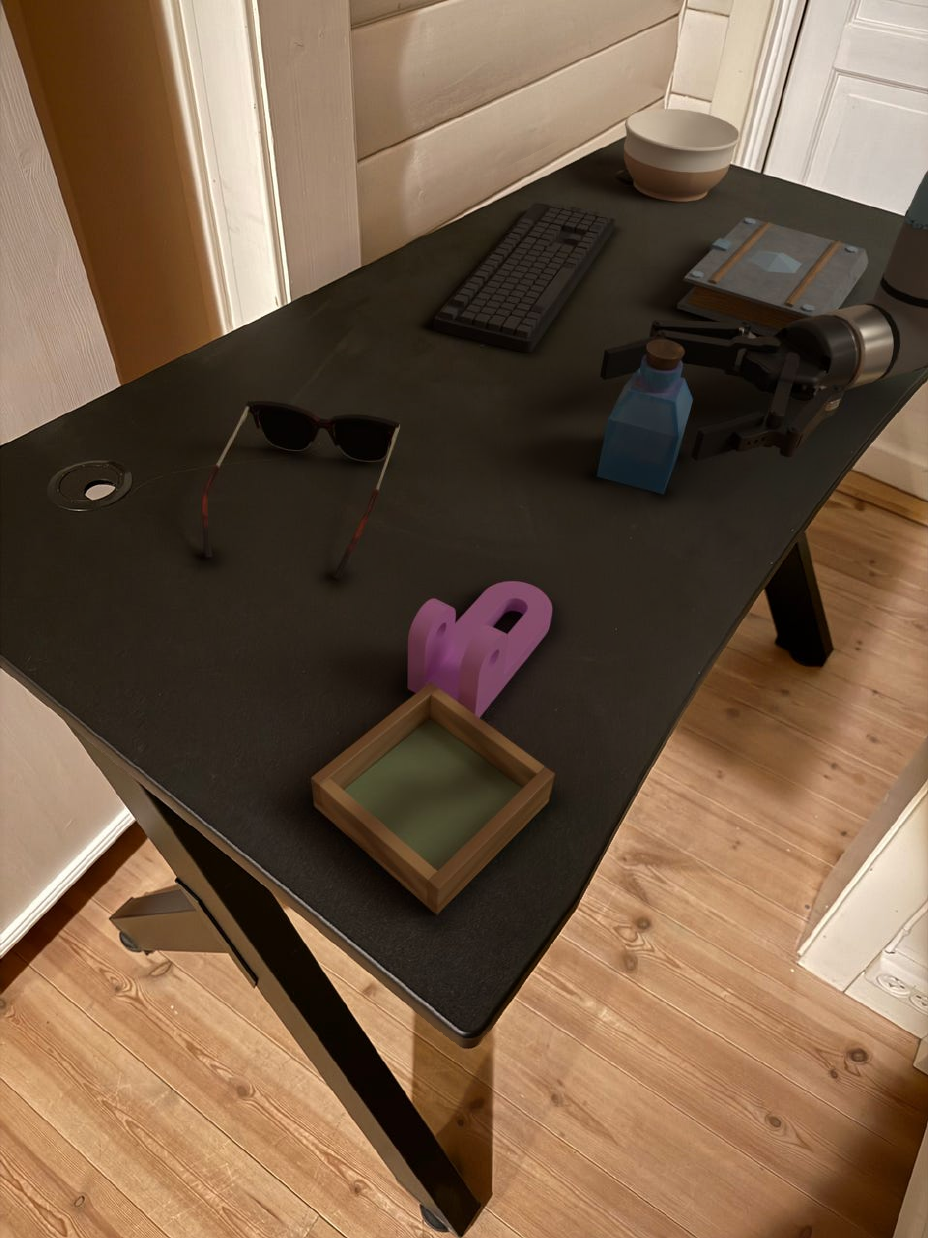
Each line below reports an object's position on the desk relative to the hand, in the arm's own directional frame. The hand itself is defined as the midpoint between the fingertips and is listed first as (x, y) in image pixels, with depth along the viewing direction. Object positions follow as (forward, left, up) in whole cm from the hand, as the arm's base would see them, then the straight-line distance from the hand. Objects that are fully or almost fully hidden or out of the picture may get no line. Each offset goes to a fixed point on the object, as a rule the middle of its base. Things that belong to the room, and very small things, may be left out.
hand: (648, 403), depth 79 cm
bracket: (-5, +27, -7) cm, 28 cm away
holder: (-11, +39, -7) cm, 41 cm away
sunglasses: (+17, +26, -7) cm, 31 cm away
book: (+8, -40, -7) cm, 42 cm away
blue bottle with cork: (0, 0, -7) cm, 7 cm away
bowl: (+35, -60, -7) cm, 70 cm away
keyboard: (+31, -23, -7) cm, 39 cm away
